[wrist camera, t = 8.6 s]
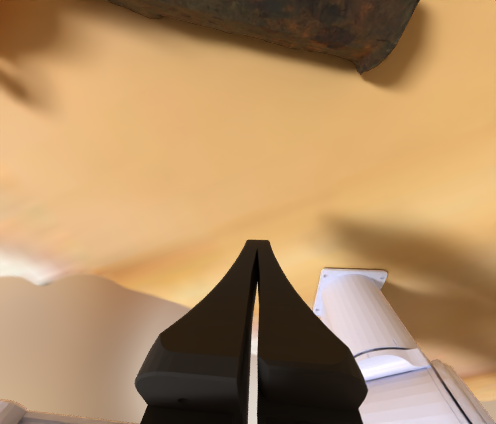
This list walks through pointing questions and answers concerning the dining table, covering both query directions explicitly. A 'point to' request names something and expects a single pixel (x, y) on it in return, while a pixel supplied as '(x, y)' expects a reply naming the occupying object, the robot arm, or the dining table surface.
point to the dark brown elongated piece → (298, 23)
